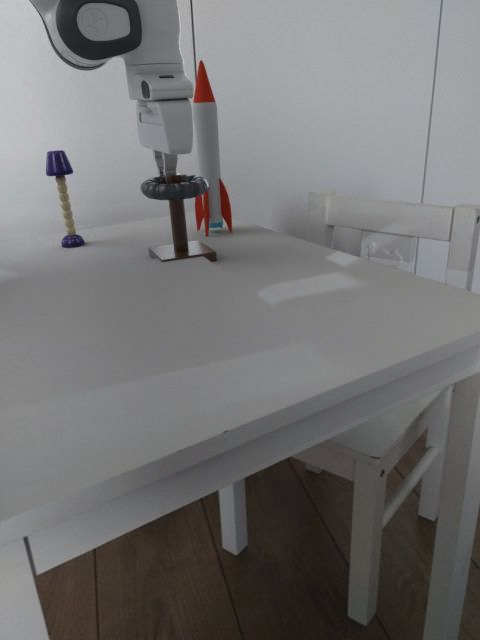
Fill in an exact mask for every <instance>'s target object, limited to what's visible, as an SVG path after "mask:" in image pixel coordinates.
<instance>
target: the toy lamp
mask: <svg viewBox="0 0 480 640" xmlns="http://www.w3.org/2000/svg"><path fill="white" fill-rule="evenodd" d="M45 160H46V162H45V166H46V167H45V174H46V176H47V177H54V179H55V181H56V184H57V185H56V187H57V188H56V189H57V192H58V199H59V201H60V208H61V210H62V213H61V214H62V217H63V219H64V220H63V222H64V226H65V232H66V234H67V235H65V236H64V237H62V239H61V242H60V243H61V247H63V248H74V247H75V248H76V247H80V246H82V245H85V244H86V241H85V239H84V238H83V236H81V235H80V234H77V229H76V227H75V220H74V218H73V216H74V214H73V211H72V210H71V209H72V208H71V207H72V206H71V205H72V204H71V202H70V195H69V192H68V185H67V184H66V183H67V178H66V176H68V175H72V174H73V175H74V169H73V167H72V164H71V162H70V160H69V158H68V156H67V153H66V152H65V150H63V149H61V150H60V149H59V150H58V149H57V150H48V151H47V152H46V159H45Z"/></svg>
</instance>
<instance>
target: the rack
mask: <svg viewBox="0 0 480 640" xmlns="http://www.w3.org/2000/svg"><path fill="white" fill-rule="evenodd" d="M181 175H182V174H181V173H179V172H176V173H173V174H167V175H166V182H167V184H177V183H182V177H181ZM168 208H169V217H170V227H171V234H172V243H171V244H164V245H157V246H150V247H148V256H149V257H150V258H151V259H152V260H156V259H158V260H159V261H160V262H161V263H166V262H167V263H168V262H172V261H173V262H174V261H179V260H186V259H193V258H199V257H204V258H205V259H206V260H208V261H209V262H216V261H218V259H217V251H216V250H215V249H213V248H211V247H210V246H208V245H206V243H203V242H202V241H200V240H199V239H198V240H191V241H189V238H188V230H187V228H188V227H187V218H186V209H185V199H182V200H168Z"/></svg>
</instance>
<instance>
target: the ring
mask: <svg viewBox="0 0 480 640" xmlns="http://www.w3.org/2000/svg"><path fill="white" fill-rule="evenodd" d="M181 177H182V183H177V184H167V182H166V180H164V176H158V175H157V176H154V177H149V178H147V179H146V180H144V181H143V182H141V184H140V192H141V193H142V194H143V195H144V196H145V197H146V198H148V199H150V200H155V201H156V200H157V201H169V200H182V199H184V200H189V199H195V197H198V196H201V195H203V194H204V193H205V192H206V191H207V190H208V187H209V184H208V181H207V180H206V179H205V178H203V177H201V176H200V175H198V174H197V175H196V174H187V173H186V174H181Z"/></svg>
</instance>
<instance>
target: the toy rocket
mask: <svg viewBox="0 0 480 640" xmlns="http://www.w3.org/2000/svg"><path fill="white" fill-rule="evenodd" d="M198 62H199V63H198V67H197V73H196V82H195V88H194V97H193V101H192V115H193V128H194V135H195V144H196V154H197V155H196V156H197V163H198V172H199V176H201V177H203V178H205V179H206V180H207V181H208V184H209V187H208V190H207V191H206V192H205V193H204V194H203V195H201V196H198V197H194V213H195V216H194V217H195V222H196V231H197V232H199V231H200V230H201V228H202V223H203V221H204V223H203V224H204V232H205V233H204V234H205V237H208V236H209V234H210V233H209V232H210V229H217V228H220V229H223V226H224V222H225V224H226V226H227V229H228V232H230V233H233V217H232V216H233V215H232V206H231V202H230V196H229V194H228V191H227V188H226V186H225V184H224V182H223V180H222V178H221V175H222V174H221V161H220V160H221V159H220V158H221V157H220V139H219V138H220V136H219V119H218V105H217V101H216V99H215V95H214V92H213V89H212V86H211V83H210V80H209V75H208V73H207V69H206V66H205V64H204V61H203V60H202V59H200V60H199V61H198Z"/></svg>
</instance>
